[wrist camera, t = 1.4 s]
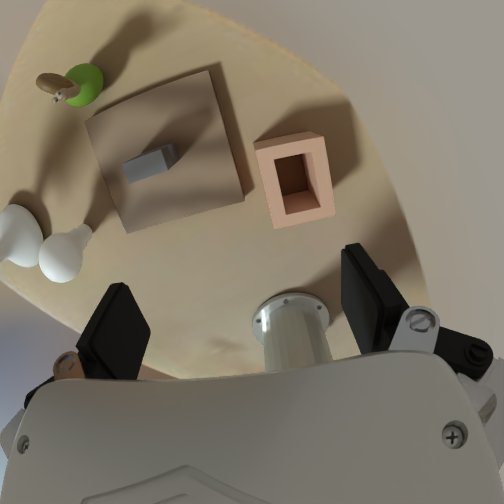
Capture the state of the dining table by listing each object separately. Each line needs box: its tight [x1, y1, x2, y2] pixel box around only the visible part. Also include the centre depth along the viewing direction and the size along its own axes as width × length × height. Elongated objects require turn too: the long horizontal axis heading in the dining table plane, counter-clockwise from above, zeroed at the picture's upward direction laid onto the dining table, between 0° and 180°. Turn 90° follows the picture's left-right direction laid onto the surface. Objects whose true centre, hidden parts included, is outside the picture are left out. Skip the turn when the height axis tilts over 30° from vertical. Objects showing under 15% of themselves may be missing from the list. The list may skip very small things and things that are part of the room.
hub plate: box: [85, 70, 245, 234], centre depth 27 cm, size 16×16×7 cm
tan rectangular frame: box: [253, 131, 336, 229], centre depth 30 cm, size 7×9×6 cm
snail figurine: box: [36, 63, 104, 107], centre depth 20 cm, size 5×6×12 cm
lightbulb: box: [39, 224, 92, 283], centre depth 30 cm, size 6×6×11 cm
